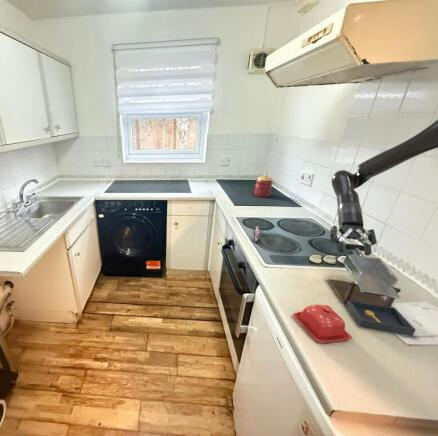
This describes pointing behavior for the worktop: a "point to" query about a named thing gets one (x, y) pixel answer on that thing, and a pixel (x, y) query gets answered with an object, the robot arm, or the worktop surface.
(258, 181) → the kitchen canister
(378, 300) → the stand
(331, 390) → the worktop surface
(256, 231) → the decorative key
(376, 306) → the tray
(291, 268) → the worktop surface
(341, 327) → the butter dish
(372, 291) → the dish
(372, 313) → the key
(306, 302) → the worktop surface
